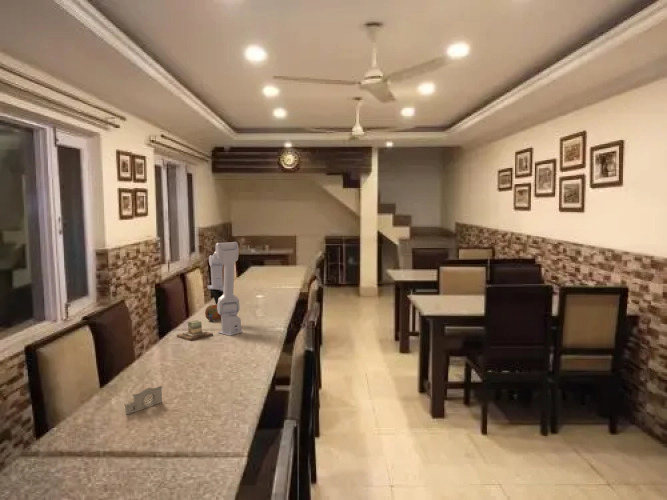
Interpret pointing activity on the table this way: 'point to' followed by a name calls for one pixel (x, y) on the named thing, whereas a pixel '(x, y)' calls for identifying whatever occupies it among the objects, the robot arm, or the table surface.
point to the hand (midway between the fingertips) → (218, 304)
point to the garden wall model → (140, 397)
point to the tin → (212, 313)
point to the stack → (194, 327)
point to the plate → (195, 336)
